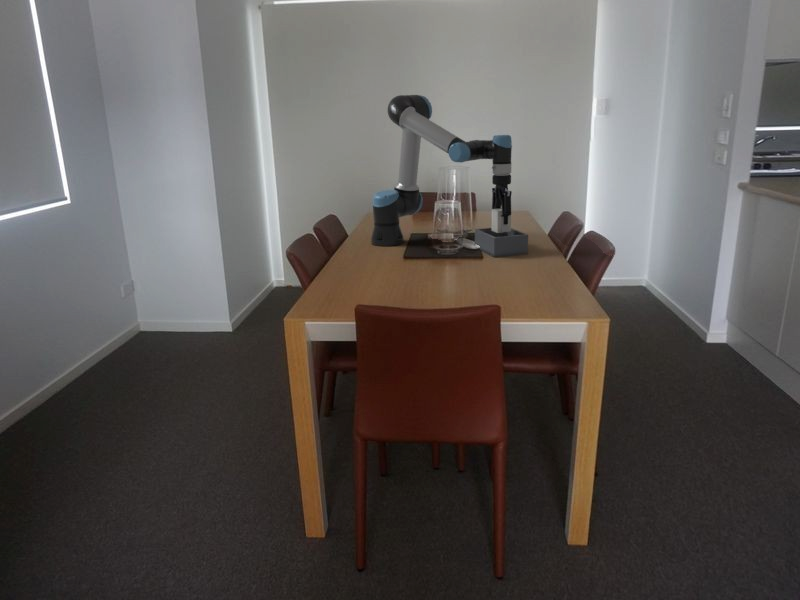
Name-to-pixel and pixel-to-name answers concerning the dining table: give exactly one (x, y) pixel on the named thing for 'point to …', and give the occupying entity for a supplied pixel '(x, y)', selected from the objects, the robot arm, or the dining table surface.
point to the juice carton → (498, 221)
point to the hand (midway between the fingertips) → (501, 230)
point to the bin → (501, 242)
